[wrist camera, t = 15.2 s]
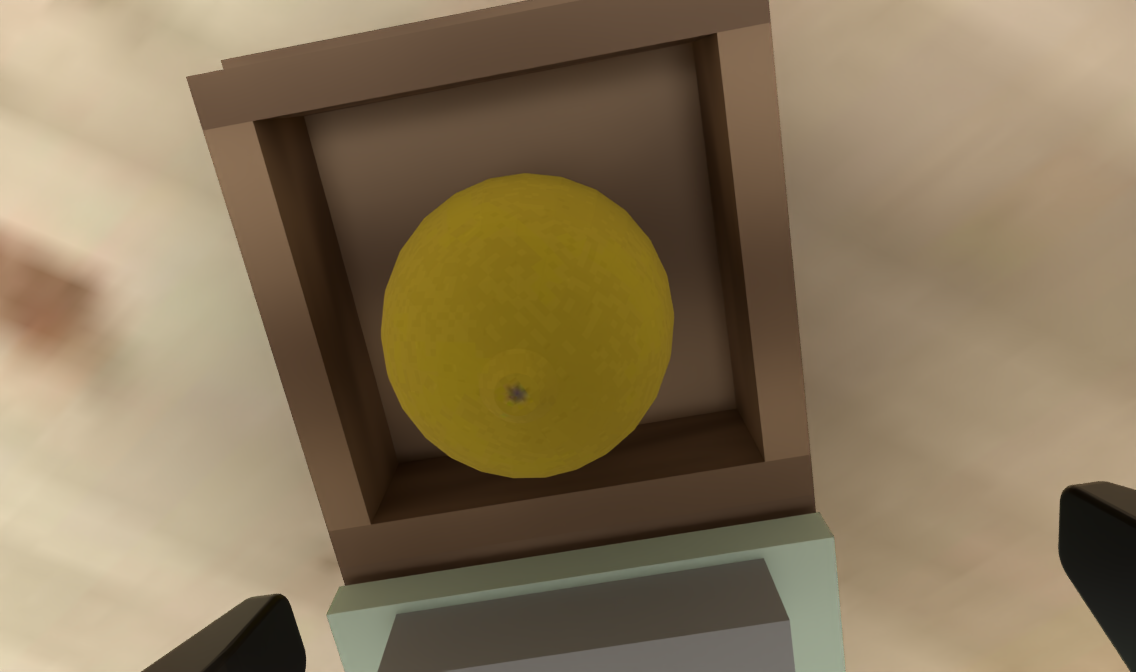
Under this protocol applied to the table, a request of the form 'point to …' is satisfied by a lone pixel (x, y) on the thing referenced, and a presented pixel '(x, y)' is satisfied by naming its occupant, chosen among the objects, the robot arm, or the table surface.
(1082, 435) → the table surface
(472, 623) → the slide cover
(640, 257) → the lemon
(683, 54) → the wooden box
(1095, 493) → the robot arm
